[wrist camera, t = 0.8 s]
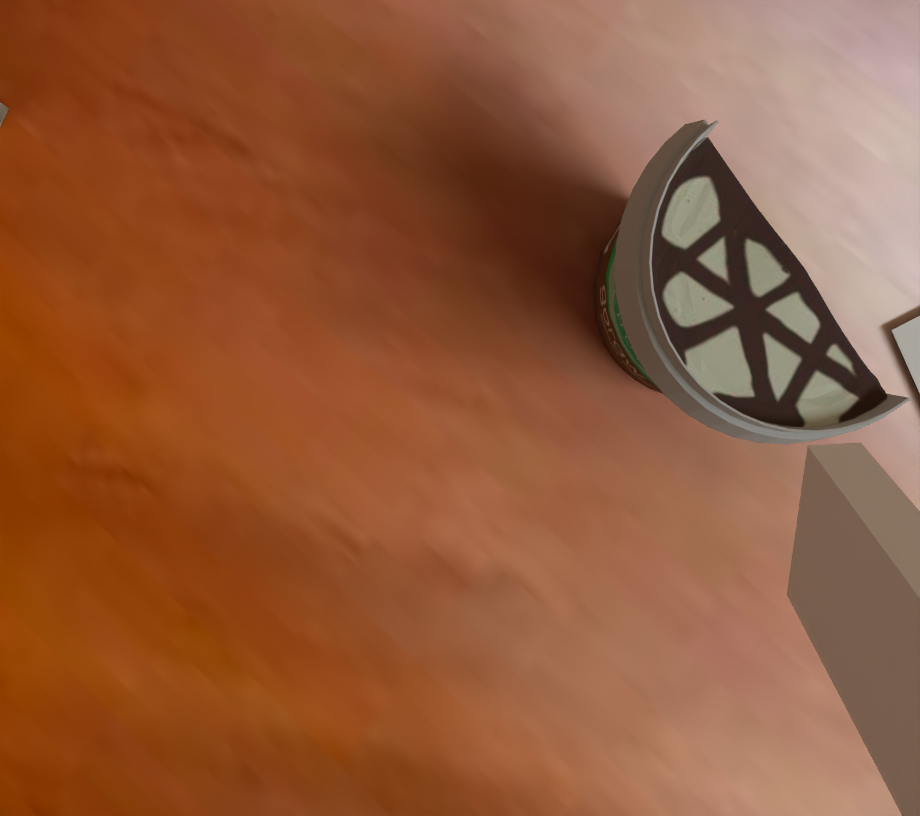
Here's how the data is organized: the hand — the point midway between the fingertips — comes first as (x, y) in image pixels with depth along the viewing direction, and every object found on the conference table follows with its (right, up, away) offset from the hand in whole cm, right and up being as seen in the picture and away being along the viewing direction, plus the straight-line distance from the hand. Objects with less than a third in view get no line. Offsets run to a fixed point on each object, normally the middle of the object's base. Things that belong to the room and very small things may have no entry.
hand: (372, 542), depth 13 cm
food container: (+10, +6, +25) cm, 27 cm away
